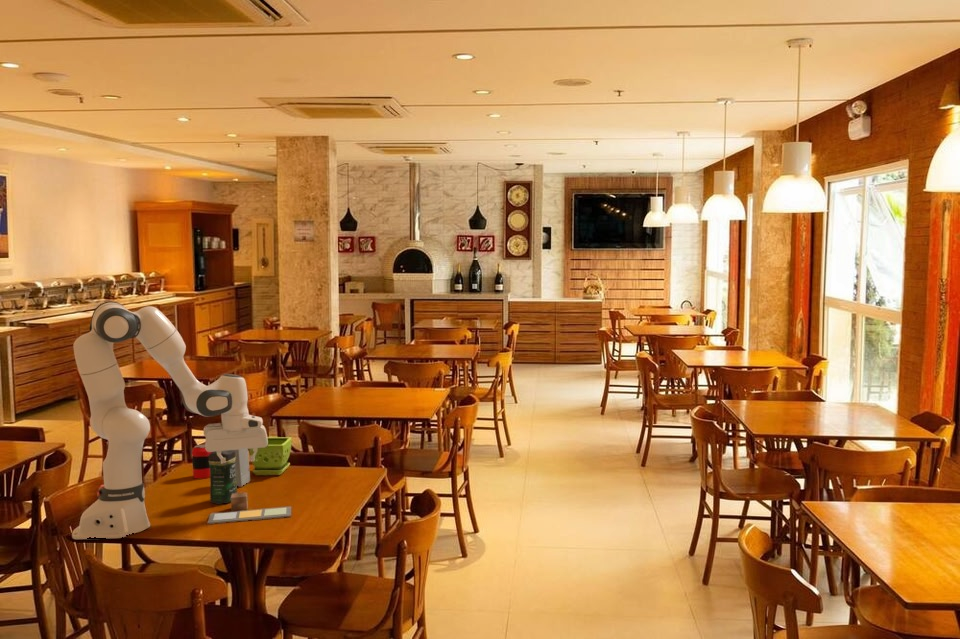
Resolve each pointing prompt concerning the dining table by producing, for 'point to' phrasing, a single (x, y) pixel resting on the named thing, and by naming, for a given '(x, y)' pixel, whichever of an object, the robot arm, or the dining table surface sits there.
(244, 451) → the skincare box
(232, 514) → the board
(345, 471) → the dining table surface
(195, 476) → the soda can
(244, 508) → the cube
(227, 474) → the coffee jar
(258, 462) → the flower pot
